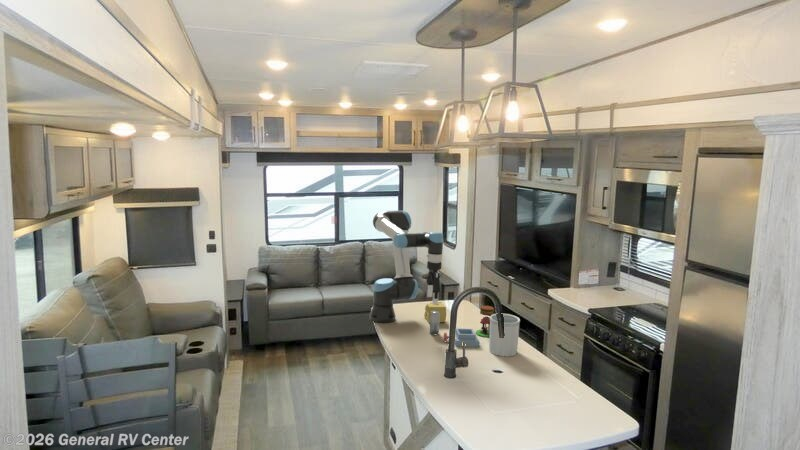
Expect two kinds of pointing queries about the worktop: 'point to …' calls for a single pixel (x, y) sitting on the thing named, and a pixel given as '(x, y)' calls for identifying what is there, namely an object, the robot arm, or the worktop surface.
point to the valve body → (464, 337)
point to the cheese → (431, 307)
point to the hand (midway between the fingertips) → (432, 300)
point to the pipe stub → (434, 322)
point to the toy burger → (485, 321)
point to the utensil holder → (510, 339)
